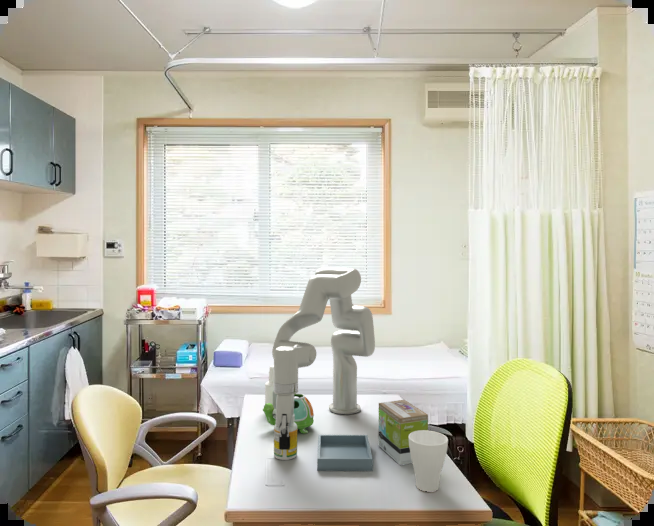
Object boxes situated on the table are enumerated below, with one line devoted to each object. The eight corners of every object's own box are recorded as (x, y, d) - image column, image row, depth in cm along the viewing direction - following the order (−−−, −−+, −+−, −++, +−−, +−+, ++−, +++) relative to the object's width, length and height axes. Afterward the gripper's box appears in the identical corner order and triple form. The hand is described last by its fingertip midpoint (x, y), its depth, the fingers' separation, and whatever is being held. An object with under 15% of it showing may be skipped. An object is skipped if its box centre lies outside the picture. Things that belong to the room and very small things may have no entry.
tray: (318, 445, 158) (318, 434, 158) (367, 445, 158) (367, 434, 158) (317, 470, 140) (317, 458, 140) (372, 471, 140) (372, 459, 140)
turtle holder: (263, 423, 177) (263, 391, 177) (312, 422, 179) (312, 390, 179) (262, 436, 165) (262, 401, 165) (315, 435, 167) (315, 400, 166)
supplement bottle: (272, 460, 146) (272, 418, 146) (275, 450, 154) (275, 410, 153) (296, 460, 146) (296, 418, 146) (298, 450, 154) (298, 410, 153)
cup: (454, 493, 128) (455, 442, 127) (418, 499, 125) (419, 447, 124) (435, 475, 138) (435, 428, 137) (401, 480, 135) (401, 432, 134)
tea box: (377, 446, 157) (377, 401, 157) (404, 442, 161) (405, 398, 160) (399, 466, 143) (400, 417, 143) (428, 461, 147) (429, 413, 146)
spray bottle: (281, 414, 186) (281, 368, 186) (263, 414, 187) (263, 368, 186) (283, 408, 193) (283, 364, 193) (266, 408, 193) (266, 363, 193)
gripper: (276, 379, 158) (276, 432, 159) (270, 395, 141) (270, 455, 141) (299, 379, 158) (299, 433, 159) (296, 395, 141) (296, 455, 141)
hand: (285, 443), depth 150 cm, fingers open, 7 cm apart
